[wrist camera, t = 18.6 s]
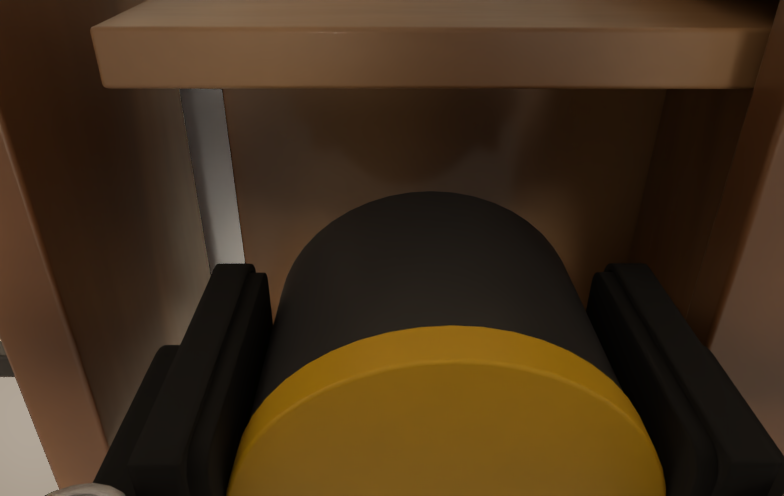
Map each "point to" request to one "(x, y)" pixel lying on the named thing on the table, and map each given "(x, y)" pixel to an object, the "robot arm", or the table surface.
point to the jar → (438, 366)
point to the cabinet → (751, 253)
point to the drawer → (334, 154)
